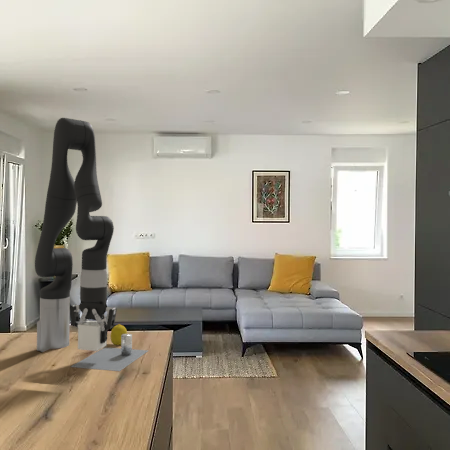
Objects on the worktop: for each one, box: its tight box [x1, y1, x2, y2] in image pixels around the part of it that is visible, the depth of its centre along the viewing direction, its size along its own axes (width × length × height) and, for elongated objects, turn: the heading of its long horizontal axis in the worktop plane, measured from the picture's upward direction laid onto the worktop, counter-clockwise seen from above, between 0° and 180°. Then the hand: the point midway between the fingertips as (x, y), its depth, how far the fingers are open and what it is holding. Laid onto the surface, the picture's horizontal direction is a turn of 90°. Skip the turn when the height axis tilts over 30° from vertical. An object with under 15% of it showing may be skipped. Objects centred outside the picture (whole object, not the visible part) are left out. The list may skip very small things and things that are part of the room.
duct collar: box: [77, 320, 107, 352], centre depth 146 cm, size 6×6×7 cm
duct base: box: [70, 346, 149, 372], centre depth 150 cm, size 15×22×2 cm
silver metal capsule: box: [120, 333, 133, 356], centre depth 154 cm, size 3×3×6 cm
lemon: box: [110, 323, 128, 346], centre depth 167 cm, size 6×6×8 cm
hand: (92, 341), depth 146 cm, fingers closed on duct collar, 6 cm apart
